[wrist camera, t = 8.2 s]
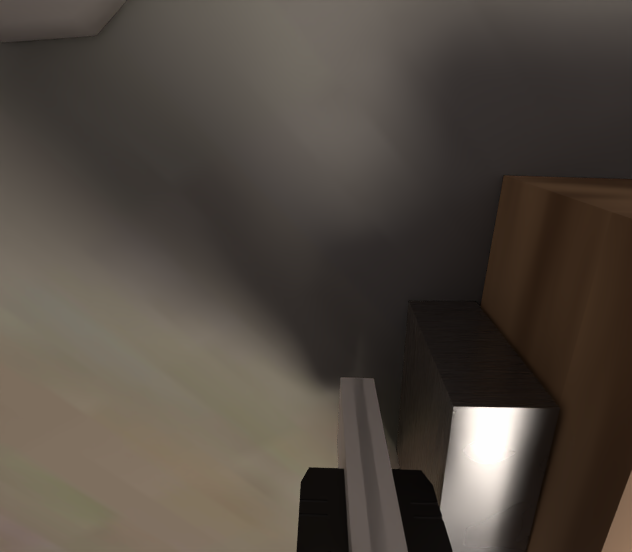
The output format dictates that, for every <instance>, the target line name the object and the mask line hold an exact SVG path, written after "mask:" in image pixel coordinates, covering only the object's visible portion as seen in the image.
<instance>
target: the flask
mask: <svg viewBox="0 0 632 552" xmlns="http://www.w3.org/2000/svg"><path fill="white" fill-rule="evenodd" d="M126 1H127V0H0V41H1V42H2V43H4V42H18V41H31V40H45V39H58V38H72V37H85V36H97V34H98V33H99V32H100V31H101V30H102V29H103V27H104V26H105V25H106V24H107V23H108V22H109V20H110V19H111V18H112V17H113V16H114V15H115V13H116V12H117V11H118V10H119V9H120V8H121V6H122V5H123V4H124V3H125V2H126Z"/></svg>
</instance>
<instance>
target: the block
mask: <svg viewBox="0 0 632 552" xmlns="http://www.w3.org/2000/svg"><path fill="white" fill-rule="evenodd" d="M480 308H481V309H482V310H483V311H484V313H485V314H486V315H487V316H488V318H489V319H490V320H491V321H492V323H493V324H494V325H495V327H496V328H497V329H498V330H499V332H500V333H501V334H502V335H503V337H504V338H505V339H506V341H507V342H508V343H509V344H510V346H511V347H512V348H513V349H514V351H515V352H516V353H517V354H518V356H519V357H520V358H521V360H522V361H523V362H524V363H525V365H526V366H527V367H528V368H529V370H530V371H531V372H532V373H533V375H534V376H535V377H536V379H537V380H538V381H539V382H540V384H541V385H542V386H543V387H544V389H545V390H546V391H547V393H548V394H549V395H550V396H551V398H552V399H553V400H554V401H555V403H556V404H557V405H558V406H559V408H560V411H559V415H558V420H557V424H556V428H555V432H554V436H553V440H552V444H551V449H550V453H549V457H548V461H547V465H546V469H545V473H544V478H543V482H542V486H541V490H540V494H539V498H538V502H537V506H536V511H535V515H534V519H533V523H532V527H531V531H530V535H529V540H528V544H527V548H526V552H632V179H610V178H576V177H542V176H508V175H504V177H503V183H502V188H501V194H500V200H499V205H498V211H497V216H496V222H495V228H494V233H493V239H492V244H491V250H490V256H489V261H488V267H487V273H486V278H485V284H484V289H483V295H482V301H481V306H480Z"/></svg>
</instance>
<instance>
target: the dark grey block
mask: <svg viewBox="0 0 632 552" xmlns="http://www.w3.org/2000/svg"><path fill="white" fill-rule="evenodd" d="M559 411H560V408H559V406H558V405H557V404H556V403H555V401H554V400H553V399H552V398H551V396H550V395H549V394H548V393H547V391H546V390H545V389H544V387H543V386H542V385H541V384H540V382H539V381H538V380H537V379H536V377H535V376H534V375H533V373H532V372H531V371H530V370H529V368H528V367H527V366H526V365H525V363H524V362H523V361H522V360H521V358H520V357H519V356H518V354H517V353H516V352H515V351H514V349H513V348H512V347H511V346H510V344H509V343H508V342H507V341H506V339H505V338H504V337H503V335H502V334H501V333H500V332H499V330H498V329H497V328H496V327H495V325H494V324H493V323H492V321H491V320H490V319H489V318H488V316H487V315H486V314H485V313H484V311H483V310H482V309H481V308H480V306H479V305H478V304H477V302H476V301H408V313H407V325H406V337H405V350H404V362H403V375H402V387H401V400H400V412H399V424H398V437H397V449H396V450H397V455H398V460H399V465H400V469H404V470H421V471H422V472H423V473H424V474H425V476H426V477H427V478H428V480H429V481H430V482H431V483H432V485H433V487H434V491H435V494H436V497H437V501H438V506H439V507H440V511H441V514H442V520H443V521H444V524H445V527H446V530H447V534H448V537H449V540H450V544H451V547H452V550H453V552H526V548H527V544H528V540H529V535H530V531H531V527H532V523H533V519H534V515H535V511H536V506H537V502H538V498H539V494H540V490H541V486H542V482H543V478H544V473H545V469H546V465H547V461H548V457H549V453H550V449H551V444H552V440H553V436H554V432H555V428H556V424H557V420H558V415H559Z"/></svg>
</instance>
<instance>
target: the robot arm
mask: <svg viewBox="0 0 632 552" xmlns="http://www.w3.org/2000/svg"><path fill="white" fill-rule="evenodd" d="M337 448H338V468H311V467H309V469H308V470H307V472H306V474H305V476H304V477H303V479H302V481H301V489H300V505H299V522H298V538H297V552H453V550H452V547H451V544H450V540H449V537H448V534H447V530H446V527H445V524H444V521H443V520H442V514H441V511H440V507H439V506H438V501H437V497H436V494H435V491H434V487H433V485H432V483H431V482H430V481H429V480H428V478H427V477H426V476H425V474H424V473H423V472H422V471H421V470H404V469H391V464H390V459H389V454H388V449H387V444H386V438H385V433H384V428H383V423H382V418H381V413H380V408H379V403H378V398H377V393H376V388H375V383H374V378H350V377H340V396H339V415H338V434H337Z"/></svg>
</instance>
